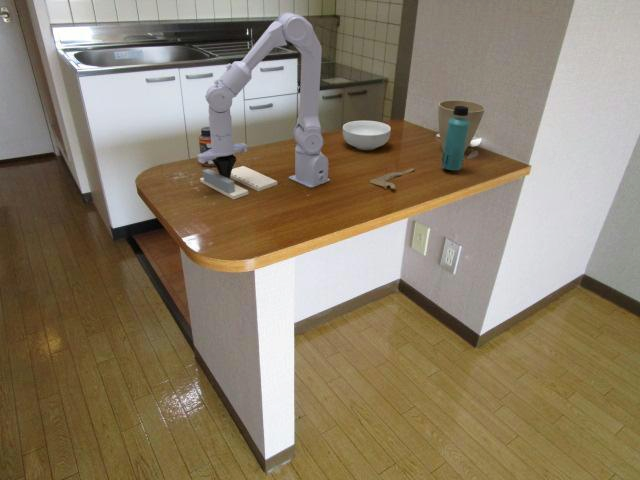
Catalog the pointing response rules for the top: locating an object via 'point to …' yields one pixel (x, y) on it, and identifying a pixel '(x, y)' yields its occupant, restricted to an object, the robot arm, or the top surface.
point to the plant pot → (447, 113)
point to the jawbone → (382, 179)
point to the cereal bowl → (366, 134)
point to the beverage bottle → (456, 140)
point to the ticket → (252, 178)
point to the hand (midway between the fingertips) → (225, 181)
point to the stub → (222, 184)
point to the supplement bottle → (205, 144)
